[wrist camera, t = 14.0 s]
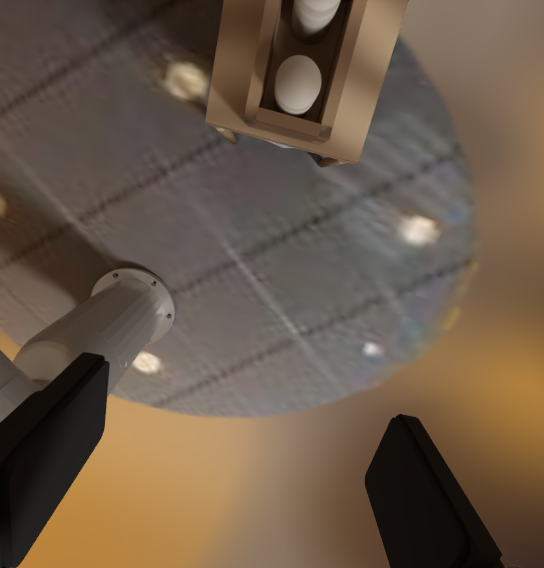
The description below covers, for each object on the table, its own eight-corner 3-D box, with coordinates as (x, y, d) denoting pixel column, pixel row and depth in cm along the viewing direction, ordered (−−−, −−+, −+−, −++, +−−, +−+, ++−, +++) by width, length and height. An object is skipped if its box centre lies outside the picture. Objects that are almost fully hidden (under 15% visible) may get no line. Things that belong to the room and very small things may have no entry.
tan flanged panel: (324, 168, 42) (368, 161, 23) (229, 142, 40) (196, 114, 22) (356, 55, 37) (441, -63, 19) (251, 23, 36) (233, -135, 18)
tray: (319, 145, 26) (333, 137, 20) (248, 126, 25) (242, 112, 19) (358, -1, 22) (388, -61, 17) (277, -26, 22) (280, -97, 16)
